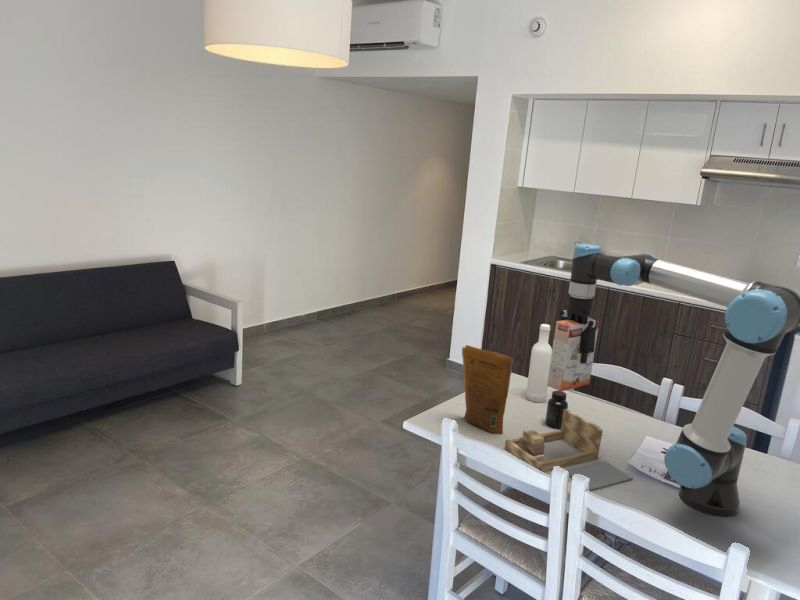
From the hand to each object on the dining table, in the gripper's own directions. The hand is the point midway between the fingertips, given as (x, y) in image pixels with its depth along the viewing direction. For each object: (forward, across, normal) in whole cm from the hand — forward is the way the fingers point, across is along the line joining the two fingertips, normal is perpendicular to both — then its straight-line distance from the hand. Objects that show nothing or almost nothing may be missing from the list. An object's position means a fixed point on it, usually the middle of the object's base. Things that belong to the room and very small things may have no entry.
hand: (571, 368), depth 183 cm
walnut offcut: (+26, +1, +12) cm, 28 cm away
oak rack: (+28, +1, +3) cm, 29 cm away
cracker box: (+6, 0, 0) cm, 6 cm away
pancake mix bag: (+28, +25, +13) cm, 40 cm away
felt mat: (+28, -15, -1) cm, 32 cm away
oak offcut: (+23, 0, +12) cm, 25 cm away
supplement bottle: (+28, +17, -13) cm, 35 cm away
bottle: (+28, +38, -22) cm, 52 cm away
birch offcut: (+29, 0, +12) cm, 31 cm away
